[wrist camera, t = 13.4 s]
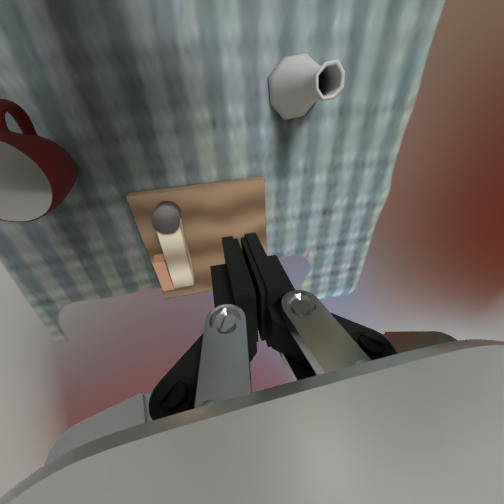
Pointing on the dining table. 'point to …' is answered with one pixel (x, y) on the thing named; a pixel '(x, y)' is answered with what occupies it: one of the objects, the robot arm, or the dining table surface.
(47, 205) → the mug
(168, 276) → the leg stop
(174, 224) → the folding leg
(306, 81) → the flask
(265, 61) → the dining table surface
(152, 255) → the stool seat board
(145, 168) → the dining table surface
